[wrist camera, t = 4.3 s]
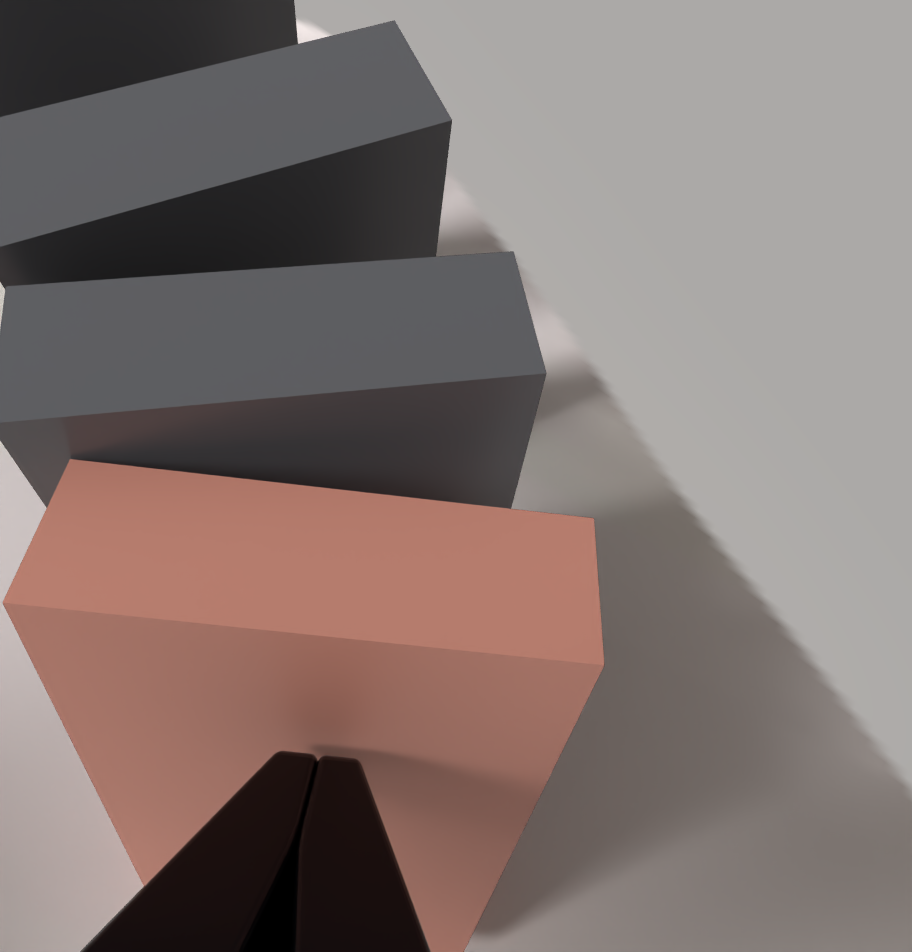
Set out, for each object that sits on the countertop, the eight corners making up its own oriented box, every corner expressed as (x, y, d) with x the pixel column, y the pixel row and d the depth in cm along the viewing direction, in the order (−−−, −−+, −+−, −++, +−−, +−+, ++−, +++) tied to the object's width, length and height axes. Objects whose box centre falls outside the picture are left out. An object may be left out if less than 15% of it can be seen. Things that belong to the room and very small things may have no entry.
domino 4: (461, 955, 15) (604, 666, 7) (165, 930, 15) (2, 603, 7) (466, 857, 16) (594, 518, 8) (189, 832, 16) (69, 458, 8)
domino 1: (321, 316, 20) (282, -128, 11) (119, 419, 19) (-122, 7, 9) (285, 266, 20) (220, -200, 11) (85, 364, 19) (-177, -83, 10)
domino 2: (410, 474, 19) (452, 120, 10) (182, 561, 18) (-20, 252, 8) (381, 412, 19) (394, 20, 10) (157, 493, 18) (-57, 131, 9)
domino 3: (463, 689, 17) (546, 374, 8) (198, 727, 16) (-11, 424, 8) (450, 612, 18) (513, 251, 9) (196, 645, 17) (6, 286, 8)
